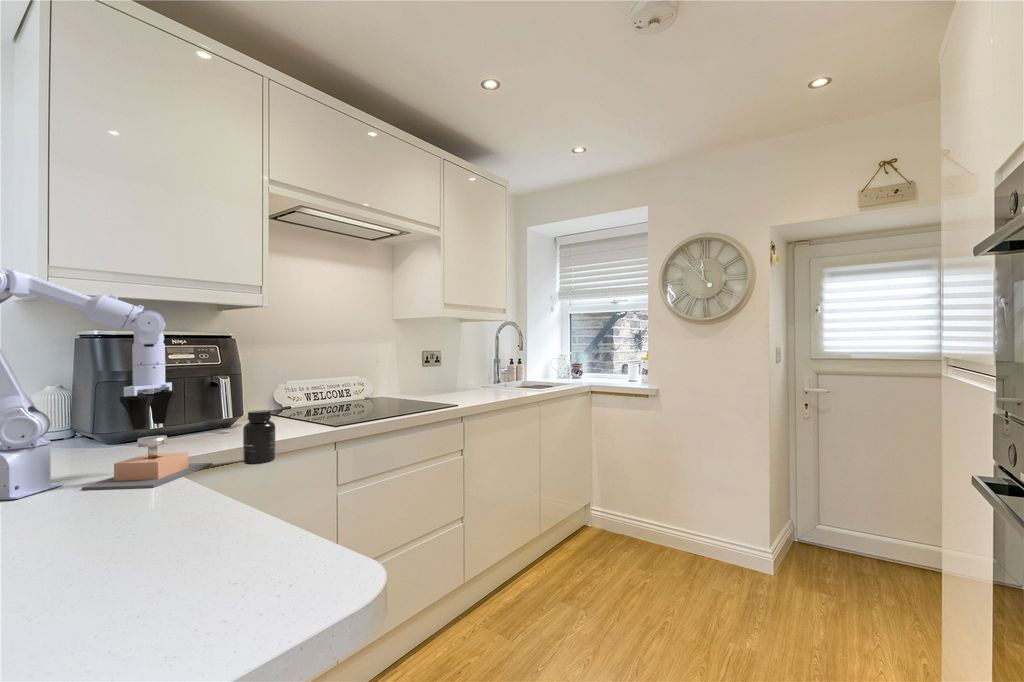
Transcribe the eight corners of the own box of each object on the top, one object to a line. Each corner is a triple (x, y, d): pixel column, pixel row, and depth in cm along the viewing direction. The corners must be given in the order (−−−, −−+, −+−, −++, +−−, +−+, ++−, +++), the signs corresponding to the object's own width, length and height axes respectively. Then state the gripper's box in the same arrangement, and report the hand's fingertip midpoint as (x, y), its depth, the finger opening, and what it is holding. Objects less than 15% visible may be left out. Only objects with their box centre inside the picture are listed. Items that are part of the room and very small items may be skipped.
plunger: (155, 461, 97) (155, 439, 97) (131, 462, 97) (131, 440, 97) (172, 456, 102) (172, 435, 102) (150, 457, 102) (149, 435, 102)
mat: (153, 487, 90) (153, 485, 90) (81, 490, 90) (81, 487, 90) (212, 464, 108) (212, 462, 108) (152, 466, 108) (152, 464, 108)
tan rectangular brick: (158, 479, 95) (158, 462, 95) (114, 480, 95) (113, 463, 95) (188, 468, 104) (188, 452, 104) (148, 469, 104) (148, 453, 104)
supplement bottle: (239, 466, 106) (238, 414, 106) (247, 459, 113) (247, 410, 113) (272, 463, 108) (271, 412, 108) (278, 457, 115) (277, 408, 115)
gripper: (150, 365, 96) (151, 430, 96) (185, 363, 111) (186, 420, 110) (111, 366, 95) (112, 432, 95) (152, 364, 109) (153, 422, 109)
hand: (150, 426), depth 102 cm, fingers open, 7 cm apart
